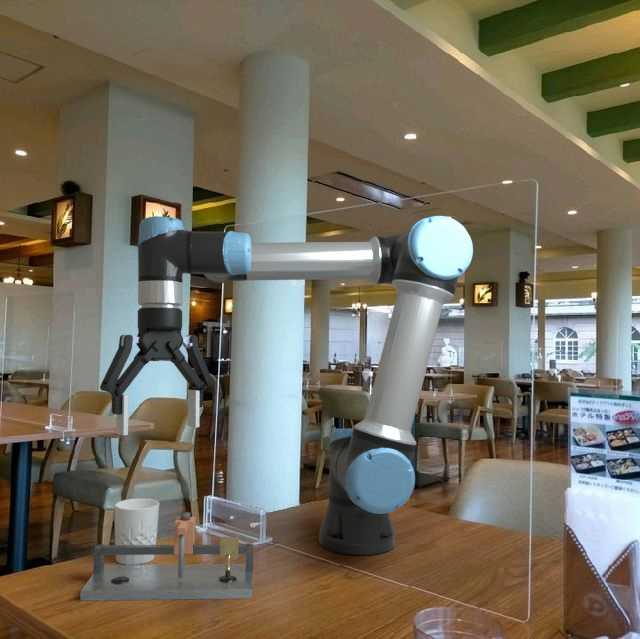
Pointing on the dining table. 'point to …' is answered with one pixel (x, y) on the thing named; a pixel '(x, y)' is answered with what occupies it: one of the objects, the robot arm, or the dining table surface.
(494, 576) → the dining table surface
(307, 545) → the dining table surface
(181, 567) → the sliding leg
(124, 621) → the dining table surface
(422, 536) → the dining table surface
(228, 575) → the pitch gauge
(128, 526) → the white cup
